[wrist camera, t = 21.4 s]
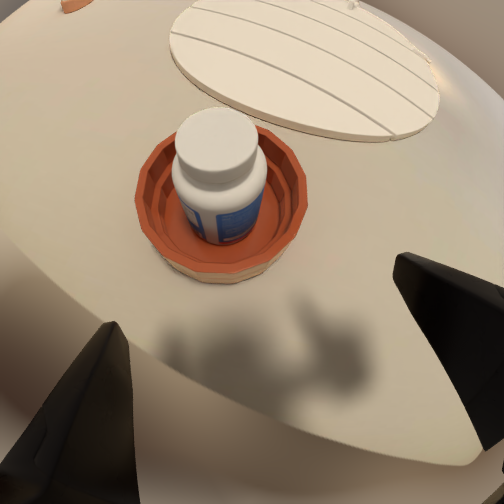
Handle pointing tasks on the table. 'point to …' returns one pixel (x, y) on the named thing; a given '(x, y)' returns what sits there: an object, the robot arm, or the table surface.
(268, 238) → the bowl
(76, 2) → the salt shaker
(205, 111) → the pill bottle
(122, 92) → the table surface
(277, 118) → the round slatted board
